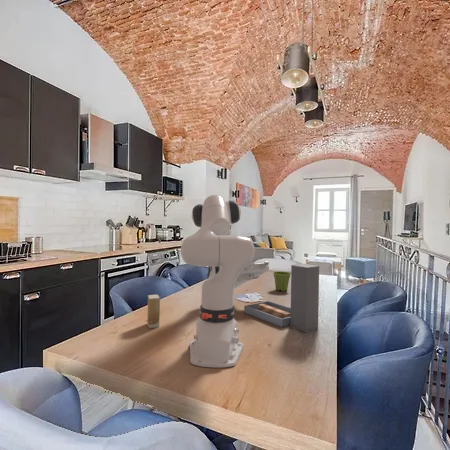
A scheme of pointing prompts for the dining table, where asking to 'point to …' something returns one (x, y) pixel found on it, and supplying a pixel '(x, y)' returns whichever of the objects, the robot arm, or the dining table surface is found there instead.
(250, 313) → the tray
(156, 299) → the skincare box
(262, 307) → the rectangular block
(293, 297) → the post
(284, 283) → the plant pot
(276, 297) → the dining table surface
